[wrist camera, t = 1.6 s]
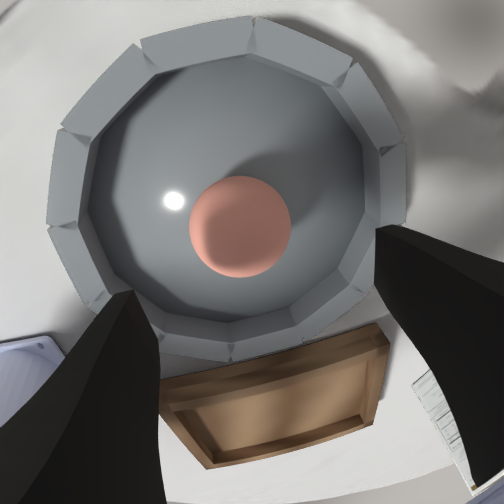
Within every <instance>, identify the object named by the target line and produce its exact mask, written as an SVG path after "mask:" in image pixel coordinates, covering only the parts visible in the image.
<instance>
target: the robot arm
mask: <svg viewBox="0 0 504 504" xmlns="http://www.w3.org/2000/svg"><path fill="white" fill-rule="evenodd" d="M374 285H375V287H376V289H377V290H378V292H379V294H380V296H381V298H382V300H383V301H384V303H385V305H386V307H387V308H388V310H389V311H390V313H391V314H392V315H393V317H394V318H395V320H396V321H397V322H398V324H399V325H400V326H401V328H402V329H403V330H404V332H405V333H406V335H407V336H408V337H409V339H410V340H411V341H412V343H413V344H414V346H415V347H416V348H417V350H418V351H419V353H420V354H421V355H422V357H423V358H424V360H425V361H426V363H427V364H428V366H429V368H430V369H431V371H432V373H433V375H434V377H435V379H436V381H437V383H438V385H439V386H440V388H441V390H442V392H443V395H444V397H445V399H446V401H447V403H448V406H449V408H450V410H451V413H452V415H453V417H454V420H455V423H456V425H457V428H458V431H459V434H460V436H461V439H462V442H463V445H464V449H465V452H466V456H467V460H468V463H469V467H470V472H471V477H472V479H473V481H474V483H475V485H476V487H477V488H479V487H480V486H482V485H483V484H485V483H486V482H487V481H489V480H490V479H492V478H493V477H494V476H496V475H497V474H498V473H500V472H501V471H502V470H504V263H503V262H500V261H496V260H493V259H490V258H487V257H484V256H481V255H478V254H475V253H473V252H470V251H467V250H464V249H461V248H459V247H456V246H454V245H451V244H448V243H446V242H443V241H440V240H438V239H435V238H433V237H430V236H427V235H425V234H422V233H419V232H417V231H414V230H411V229H408V228H405V227H402V226H398V225H394V224H391V225H387V226H383V227H379V228H375V266H374ZM42 344H43V345H42ZM159 392H160V355H159V342H158V338H157V336H156V334H155V332H154V330H153V328H152V326H151V324H150V322H149V320H148V318H147V316H146V314H145V312H144V310H143V308H142V306H141V304H140V302H139V300H138V298H137V296H136V294H135V291H134V289H132V290H128V291H124V292H120V293H116V294H114V295H113V296H112V297H111V298H110V300H109V301H108V302H107V303H106V304H105V306H104V307H103V308H102V310H101V311H100V312H99V313H98V315H97V316H96V317H95V319H94V320H93V322H92V323H91V324H90V326H89V327H88V328H87V330H86V331H85V332H84V334H83V335H82V336H81V338H80V339H79V340H78V342H77V343H76V344H75V346H74V347H73V348H72V349H71V351H70V352H69V353H68V354H67V356H66V357H65V356H64V355H63V353H62V352H61V350H60V349H59V348H58V346H57V345H56V343H55V342H54V341H53V339H52V338H50V337H49V336H40V337H35V338H30V339H24V340H19V341H13V342H8V343H2V344H0V504H167V502H166V497H165V491H164V485H163V479H162V473H161V465H160V457H159V447H158V416H159ZM466 504H504V477H503V478H501V479H500V480H499V481H498V482H496V483H495V484H493V485H492V486H491V487H489V488H488V489H487V490H485V491H484V492H482V493H481V494H479V495H478V496H476V497H475V498H473V499H472V500H470V501H469V502H467V503H466Z"/></svg>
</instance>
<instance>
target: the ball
mask: <svg viewBox="0 0 504 504" xmlns="http://www.w3.org/2000/svg"><path fill="white" fill-rule="evenodd" d="M189 233H190V238H191V242H192V245H193V247H194V249H195V251H196V253H197V255H198V256H199V257H200V259H201V260H202V261H203V262H204V263H205V264H206V265H207V266H208V267H210V268H211V269H212V270H214V271H216V272H218V273H220V274H223V275H225V276H229V277H239V278H242V277H250V276H254V275H257V274H260V273H262V272H264V271H266V270H267V269H269V268H270V267H272V266H273V265H274V264H275V263H276V262H277V261H278V260H279V259H280V258H281V256H282V255H283V253H284V251H285V249H286V247H287V245H288V242H289V239H290V233H291V220H290V215H289V211H288V208H287V206H286V204H285V202H284V200H283V199H282V197H281V196H280V195H279V193H278V192H277V191H276V190H275V189H274V188H272V187H271V186H270V185H268V184H267V183H265V182H263V181H261V180H259V179H256V178H253V177H248V176H232V177H227V178H224V179H221V180H219V181H217V182H215V183H213V184H212V185H210V186H209V187H208V188H207V189H205V190H204V191H203V192H202V194H201V195H200V196H199V198H198V199H197V200H196V202H195V204H194V206H193V209H192V211H191V215H190V221H189Z"/></svg>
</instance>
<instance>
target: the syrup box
mask: <svg viewBox="0 0 504 504" xmlns="http://www.w3.org/2000/svg"><path fill="white" fill-rule="evenodd" d="M412 388H413V390H414V391H415V393H416V395H417V396H418V398H419V400H420V401H421V403H422V405H423V407H424V408H425V410H426V412H427V413H428V415H429V417H430V419H431V420H432V422H433V424H434V426H435V428H436V429H437V431H438V433H439V435H440V436H441V438H442V440H443V442H444V443H445V445H446V447H447V449H448V451H449V453H450V455H451V457H452V458H453V460H454V462H455V464H456V466H457V468H458V469H459V471H460V473H461V475H462V477H463V479H464V481H465V483H466V484H467V487H468V488H469V490H470V493H471V495H472V496H473V497H475V496H476V495H478V494H480V493H482V492H483V491H485V490H487V489H488V488H489V487H491V486H492V485H493V484H495V483H496V482H498V481H499V480H500V479H501V478H503V477H504V470H502V471H501V472H500V473H498V474H497V475H496V476H494V477H493V478H492V479H490V480H489V481H487V482H486V483H485V484H483V485H482V486H480V487H479V488H477V487H476V485H475V483H474V481H473V479H472V477H471V472H470V467H469V463H468V460H467V456H466V452H465V449H464V445H463V442H462V439H461V436H460V434H459V431H458V428H457V425H456V423H455V420H454V417H453V415H452V413H451V410H450V408H449V406H448V403H447V401H446V399H445V397H444V395H443V392H442V390H441V388H440V386H439V385H438V383H437V381H436V379H435V377H434V375H433V373H432V371H431V369H430V370H429V371H428V372H427V373H426V374H425V375H424V376H423V377H421V378H420V379H419V380H418V381H417V382H416V383H414V384H413V385H412Z"/></svg>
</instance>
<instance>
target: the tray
mask: <svg viewBox="0 0 504 504" xmlns="http://www.w3.org/2000/svg"><path fill="white" fill-rule="evenodd" d="M389 348H390V342H389V340H388V339H387V338H386V336H385V335H384V333H383V332H382V330H381V329H380V327H379V326H378V324H377V323H373V324H371V325H368V326H365V327H362V328H359V329H356V330H353V331H350V332H347V333H344V334H341V335H338V336H335V337H331V338H328V339H325V340H322V341H319V342H315V343H312V344H309V345H305V346H302V347H298V348H295V349H291V350H288V351H284V352H281V353H277V354H273V355H270V356H266V357H262V358H258V359H254V360H250V361H246V362H242V363H238V364H234V365H230V366H225V367H221V368H216V369H212V370H207V371H203V372H198V373H193V374H188V375H183V376H178V377H173V378H167V379H162V380H160V392H159V414H160V416H161V417H162V418H163V420H164V421H165V422H166V423H167V425H168V426H169V427H170V428H171V430H172V431H173V432H174V433H175V434H176V436H177V437H178V438H179V439H180V440H181V442H182V443H183V444H184V445H185V446H186V447H187V449H188V450H189V451H190V452H191V453H192V454H193V455H194V457H195V458H196V459H197V460H198V461H199V462H200V463H201V464H202V465H203V467H204V468H205V469H206V470H207V469H214V468H220V467H225V466H231V465H236V464H241V463H246V462H251V461H256V460H260V459H265V458H269V457H273V456H277V455H281V454H285V453H289V452H292V451H296V450H299V449H303V448H306V447H310V446H313V445H316V444H320V443H323V442H326V441H329V440H332V439H335V438H338V437H341V436H344V435H346V434H349V433H352V432H355V431H357V430H360V429H363V428H365V427H368V426H370V425H373V422H374V418H375V414H376V410H377V406H378V402H379V397H380V393H381V388H382V384H383V379H384V374H385V369H386V364H387V359H388V354H389Z"/></svg>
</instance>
